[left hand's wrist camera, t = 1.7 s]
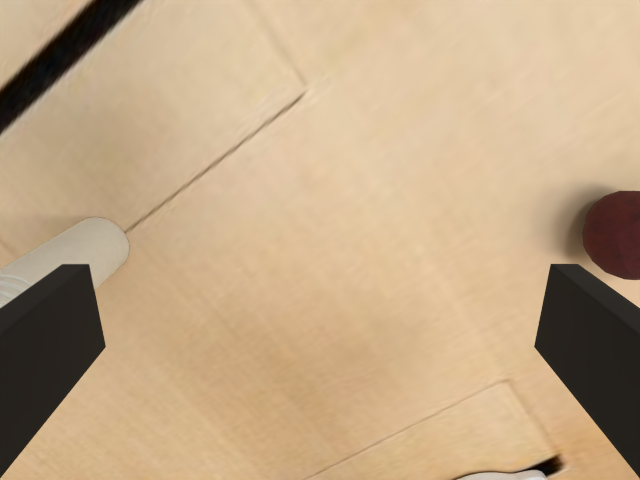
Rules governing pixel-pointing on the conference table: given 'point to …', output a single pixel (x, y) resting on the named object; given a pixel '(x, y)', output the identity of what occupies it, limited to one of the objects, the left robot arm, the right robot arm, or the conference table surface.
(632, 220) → the dark red ball
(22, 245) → the conference table surface
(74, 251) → the bottle
